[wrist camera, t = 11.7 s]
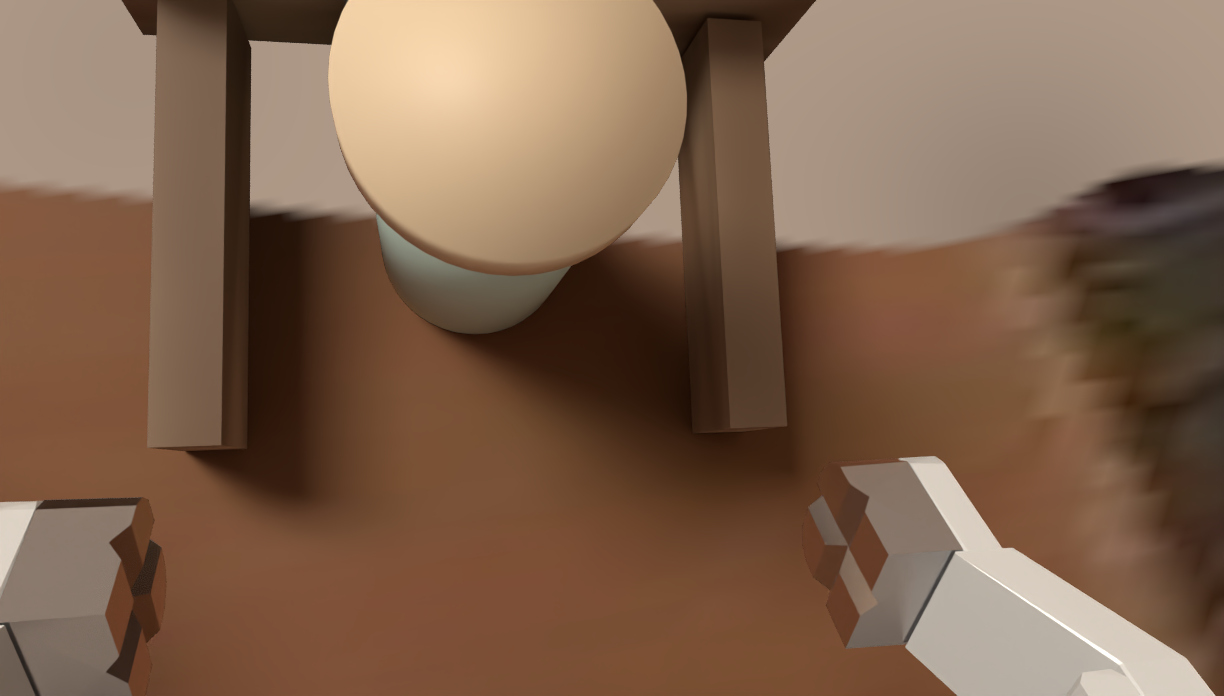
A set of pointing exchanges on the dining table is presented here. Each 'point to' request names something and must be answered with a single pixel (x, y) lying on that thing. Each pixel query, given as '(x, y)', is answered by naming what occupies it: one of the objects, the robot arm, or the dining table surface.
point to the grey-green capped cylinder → (502, 141)
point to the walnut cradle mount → (220, 209)
